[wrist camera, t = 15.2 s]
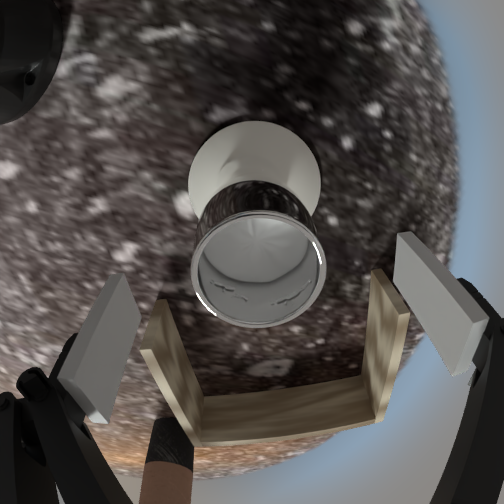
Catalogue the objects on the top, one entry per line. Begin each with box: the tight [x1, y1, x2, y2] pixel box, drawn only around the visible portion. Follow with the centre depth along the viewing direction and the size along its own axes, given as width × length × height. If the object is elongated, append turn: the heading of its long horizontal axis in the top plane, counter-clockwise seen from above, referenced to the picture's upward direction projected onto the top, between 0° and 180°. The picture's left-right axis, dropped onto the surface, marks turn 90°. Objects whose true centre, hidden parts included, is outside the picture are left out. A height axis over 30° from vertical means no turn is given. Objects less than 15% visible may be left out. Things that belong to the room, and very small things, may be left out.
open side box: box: [140, 268, 410, 447], centre depth 35 cm, size 19×25×8 cm
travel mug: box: [139, 418, 194, 504], centre depth 39 cm, size 8×8×20 cm
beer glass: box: [190, 154, 326, 328], centre depth 22 cm, size 7×7×15 cm
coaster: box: [188, 121, 321, 218], centre depth 29 cm, size 12×12×1 cm
